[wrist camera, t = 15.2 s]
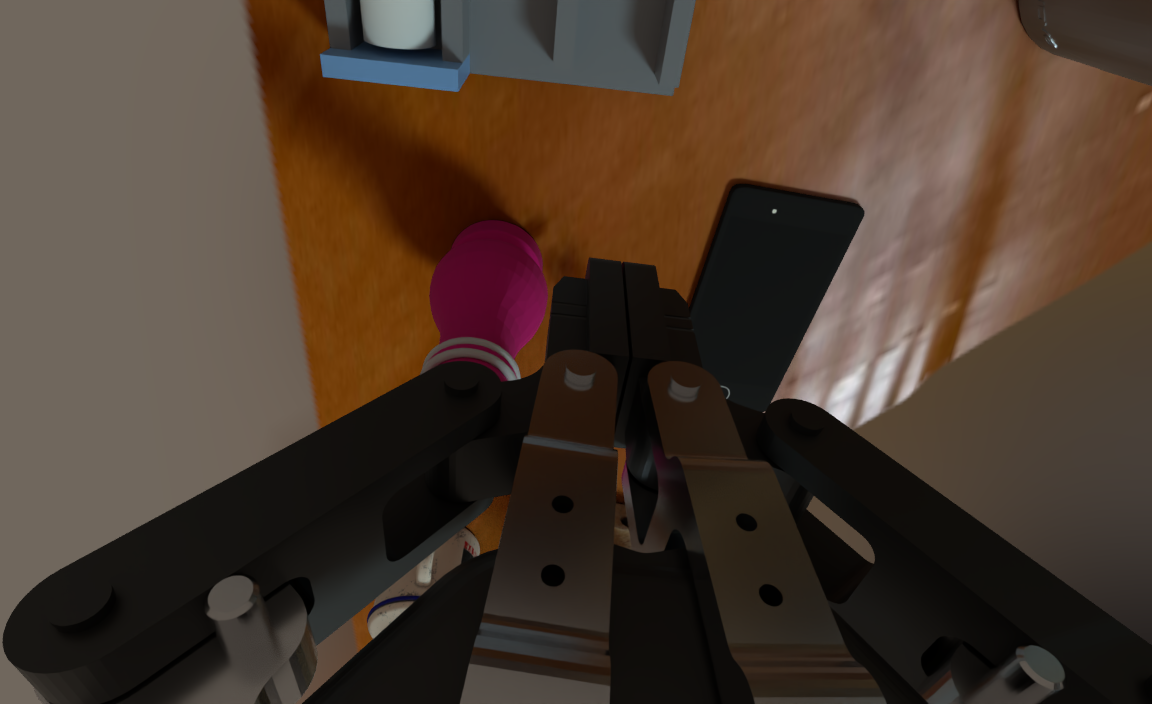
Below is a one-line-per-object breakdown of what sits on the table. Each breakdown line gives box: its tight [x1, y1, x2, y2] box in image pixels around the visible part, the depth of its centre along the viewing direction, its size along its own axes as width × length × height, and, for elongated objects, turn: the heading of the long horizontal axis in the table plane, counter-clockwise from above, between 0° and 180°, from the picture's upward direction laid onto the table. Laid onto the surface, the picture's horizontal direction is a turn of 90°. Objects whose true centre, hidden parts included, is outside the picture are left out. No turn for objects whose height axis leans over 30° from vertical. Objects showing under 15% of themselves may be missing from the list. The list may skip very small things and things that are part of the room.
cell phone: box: [689, 184, 864, 412], centre depth 43 cm, size 9×18×1 cm, turn 170°
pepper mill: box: [420, 220, 548, 382], centre depth 33 cm, size 7×7×20 cm
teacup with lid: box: [367, 528, 480, 639], centre depth 54 cm, size 12×9×12 cm
